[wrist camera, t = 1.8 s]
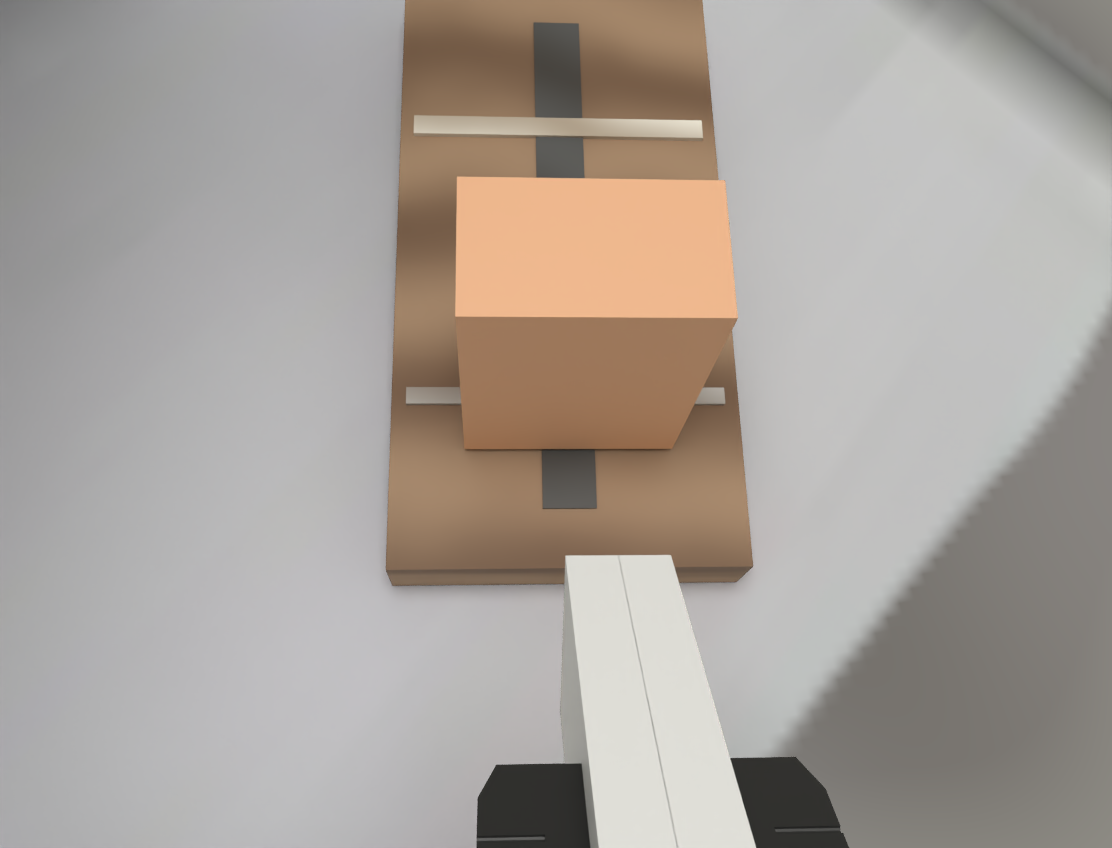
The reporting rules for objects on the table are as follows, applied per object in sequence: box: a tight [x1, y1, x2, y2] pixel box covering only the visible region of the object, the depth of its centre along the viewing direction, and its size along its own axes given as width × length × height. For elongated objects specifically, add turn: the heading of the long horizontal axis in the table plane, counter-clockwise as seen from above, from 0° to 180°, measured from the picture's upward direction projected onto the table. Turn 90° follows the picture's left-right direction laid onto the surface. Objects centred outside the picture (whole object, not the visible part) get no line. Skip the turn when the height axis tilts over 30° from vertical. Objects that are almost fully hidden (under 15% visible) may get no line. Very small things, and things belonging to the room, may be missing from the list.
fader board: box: [386, 0, 753, 586], centre depth 39 cm, size 24×12×3 cm, turn 1°
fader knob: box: [455, 177, 738, 449], centre depth 31 cm, size 4×7×10 cm, turn 91°
